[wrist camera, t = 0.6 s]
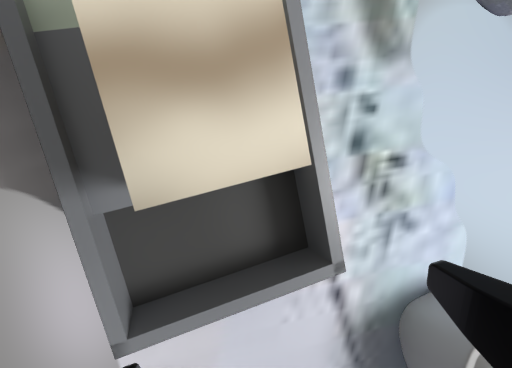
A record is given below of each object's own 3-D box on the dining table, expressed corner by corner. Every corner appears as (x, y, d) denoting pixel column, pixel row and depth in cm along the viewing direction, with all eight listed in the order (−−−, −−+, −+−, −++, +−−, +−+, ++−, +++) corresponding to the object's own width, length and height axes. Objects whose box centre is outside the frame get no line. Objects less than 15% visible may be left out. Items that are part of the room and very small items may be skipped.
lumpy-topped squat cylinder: (463, 268, 33) (562, 307, 25) (484, 359, 36) (578, 421, 28) (390, 313, 31) (472, 374, 23) (418, 407, 34) (500, 490, 26)
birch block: (259, 158, 22) (311, 164, 14) (146, 186, 20) (134, 211, 12) (228, 11, 20) (268, -74, 12) (99, 25, 18) (51, -67, 10)
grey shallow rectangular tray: (317, 252, 27) (345, 271, 23) (124, 320, 23) (115, 359, 19) (223, -256, 20) (239, -363, 16) (-80, -297, 16) (-167, -457, 12)
